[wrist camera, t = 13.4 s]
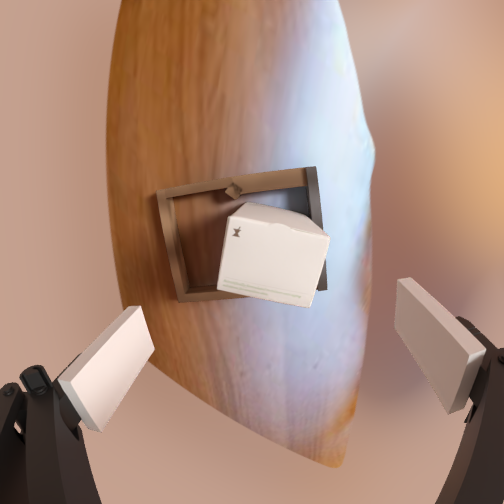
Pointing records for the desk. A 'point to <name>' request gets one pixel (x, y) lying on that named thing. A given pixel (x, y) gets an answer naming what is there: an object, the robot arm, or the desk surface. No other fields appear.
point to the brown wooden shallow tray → (234, 190)
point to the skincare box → (272, 255)
